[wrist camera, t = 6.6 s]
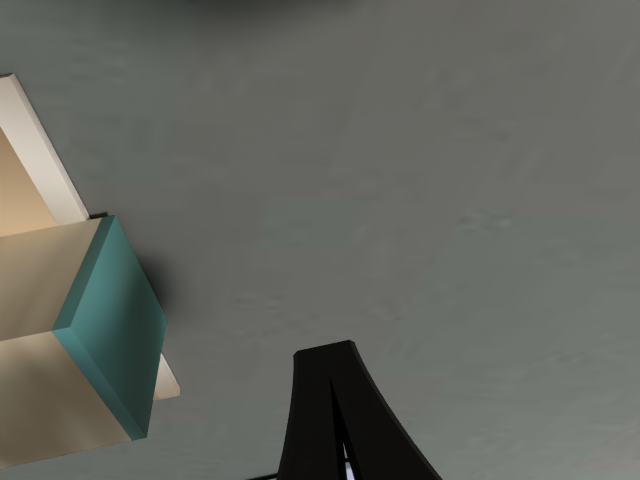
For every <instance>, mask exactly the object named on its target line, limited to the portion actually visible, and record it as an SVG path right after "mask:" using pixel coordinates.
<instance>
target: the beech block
mask: <svg viewBox="0 0 640 480" xmlns="http://www.w3.org/2000/svg"><path fill="white" fill-rule="evenodd" d="M166 323H167V318H166V316H165V314H164V312H163V310H162V308H161V306H160V304H159V302H158V300H157V298H156V296H155V294H154V292H153V290H152V288H151V286H150V284H149V282H148V280H147V278H146V276H145V274H144V272H143V270H142V267H141V265H140V263H139V261H138V259H137V257H136V255H135V253H134V251H133V249H132V247H131V245H130V243H129V241H128V239H127V237H126V235H125V233H124V231H123V229H122V227H121V225H120V223H119V221H118V219H117V217H116V215H112V216H107V217H102V218H97V219H92V220H87V221H81V222H76V223H71V224H66V225H61V226H56V227H51V228H45V229H40V230H35V231H30V232H25V233H20V234H15V235H9V236H4V237H0V469H2V468H7V467H11V466H16V465H21V464H25V463H30V462H35V461H40V460H44V459H49V458H54V457H58V456H63V455H68V454H72V453H77V452H82V451H86V450H91V449H96V448H100V447H105V446H110V445H114V444H119V443H124V442H128V441H133V440H138V439H142V438H147V432H148V426H149V420H150V415H151V409H152V403H153V397H154V392H155V386H156V380H157V374H158V369H159V363H160V357H161V351H162V346H163V340H164V334H165V328H166Z"/></svg>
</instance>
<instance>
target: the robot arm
mask: <svg viewBox="0 0 640 480" xmlns="http://www.w3.org/2000/svg"><path fill="white" fill-rule="evenodd" d="M293 358H294V372H293V387H292V397H291V405H290V412H289V418H288V424H287V430H286V436H285V441H284V447H283V452H282V457H281V461H280V465H279V470H278V474H277V478H274V479H269V480H442V478H441V477H440V476H439V475H438V473H437V472H436V471H435V470H434V468H433V467H432V466H431V464H430V463H429V462H428V461H427V459H426V458H425V457H424V455H423V454H422V453H421V451H420V450H419V449H418V447H417V446H416V445H415V443H414V442H413V441H412V439H411V438H410V436H409V435H408V434H407V432H406V431H405V429H404V428H403V426H402V425H401V423H400V422H399V420H398V419H397V418H396V416H395V415H394V413H393V412H392V410H391V409H390V407H389V406H388V404H387V403H386V401H385V399H384V398H383V396H382V395H381V393H380V391H379V390H378V388H377V386H376V385H375V383H374V381H373V379H372V378H371V376H370V374H369V372H368V371H367V369H366V367H365V365H364V363H363V361H362V359H361V357H360V354H359V352H358V350H357V348H356V345H355V342H353V341H351V340H346V341H341V342H337V343H332V344H327V345H323V346H318V347H313V348H309V349H304V350H299V351H297V352H296V353H295V354H294V355H293ZM343 443H344V446H345V450H346V453H347V456H348V460H349V462H346V463H345V454H344V446H343Z"/></svg>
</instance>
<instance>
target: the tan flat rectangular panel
mask: <svg viewBox="0 0 640 480" xmlns="http://www.w3.org/2000/svg"><path fill="white" fill-rule="evenodd" d="M87 220H91V218H90V216H89V214H88V213H87V211H86V209H85V207H84V205H83V203H82V201H81V199H80V197H79V195H78V194H77V192H76V190H75V188H74V186H73V184H72V182H71V180H70V178H69V176H68V175H67V173H66V171H65V169H64V167H63V165H62V163H61V161H60V159H59V157H58V156H57V154H56V152H55V150H54V148H53V146H52V144H51V142H50V140H49V138H48V137H47V135H46V133H45V131H44V129H43V127H42V125H41V123H40V121H39V119H38V118H37V116H36V114H35V112H34V110H33V108H32V106H31V104H30V102H29V100H28V99H27V97H26V95H25V93H24V91H23V89H22V87H21V85H20V83H19V81H18V80H17V78H16V76H15V74H14V73H10V74H4V75H0V237H4V236H9V235H15V234H20V233H25V232H30V231H35V230H40V229H45V228H51V227H56V226H61V225H66V224H71V223H76V222H81V221H87ZM179 395H180V387H179V385H178V384H177V382H176V380H175V378H174V376H173V374H172V372H171V370H170V368H169V366H168V365H167V363H166V361H165V359H164V357H163V355H162V353H161V357H160V363H159V369H158V374H157V380H156V386H155V392H154V397H153V400H158V399H164V398H169V397H174V396H179Z"/></svg>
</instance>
